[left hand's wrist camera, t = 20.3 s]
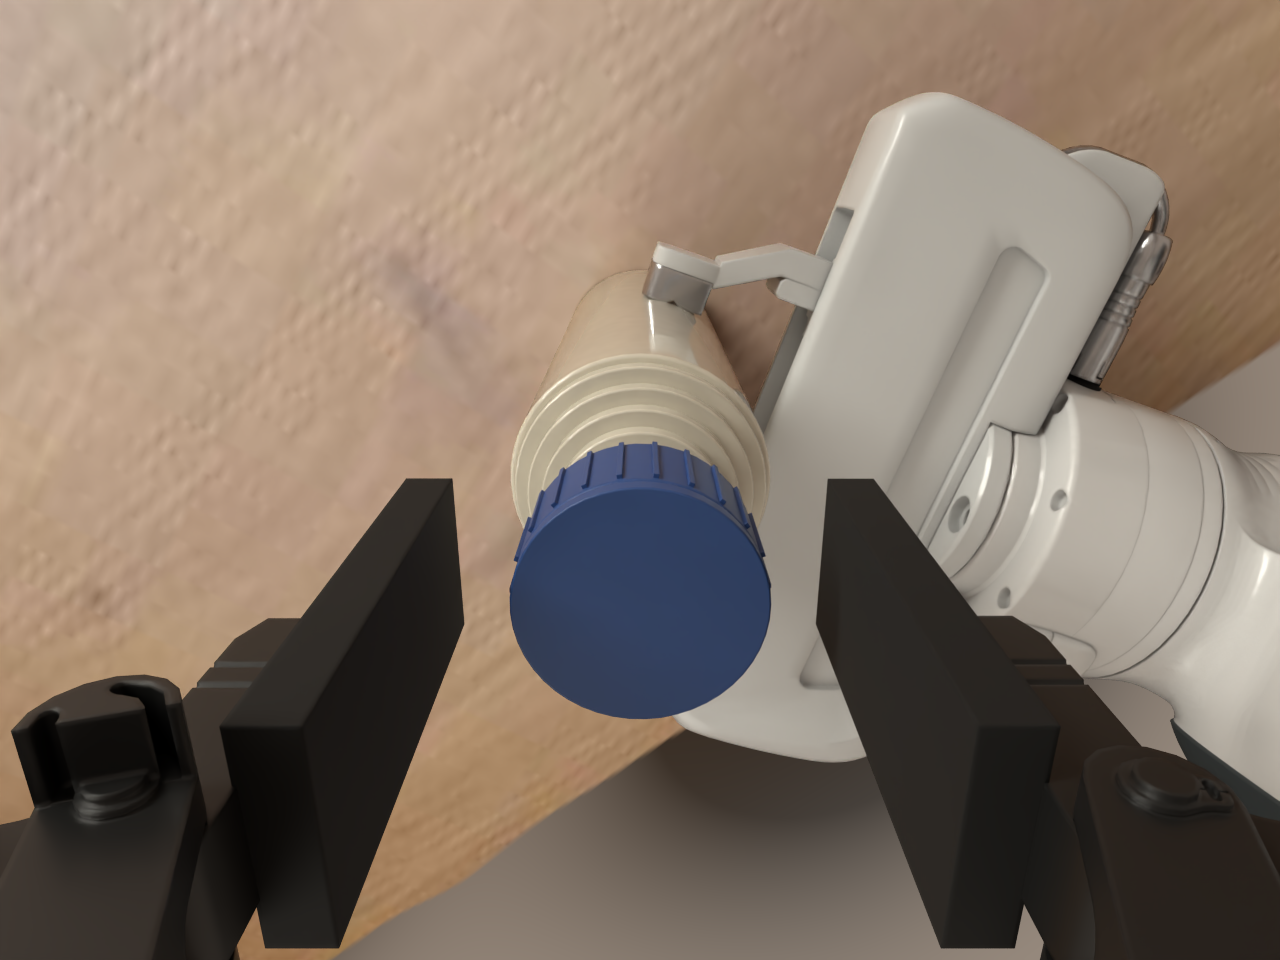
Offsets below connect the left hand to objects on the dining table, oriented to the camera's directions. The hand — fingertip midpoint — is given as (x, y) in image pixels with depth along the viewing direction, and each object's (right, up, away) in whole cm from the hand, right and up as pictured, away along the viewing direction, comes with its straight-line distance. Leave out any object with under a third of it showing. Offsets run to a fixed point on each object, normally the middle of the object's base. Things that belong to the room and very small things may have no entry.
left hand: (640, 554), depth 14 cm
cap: (0, -1, -1) cm, 2 cm away
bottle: (0, +6, +17) cm, 18 cm away
